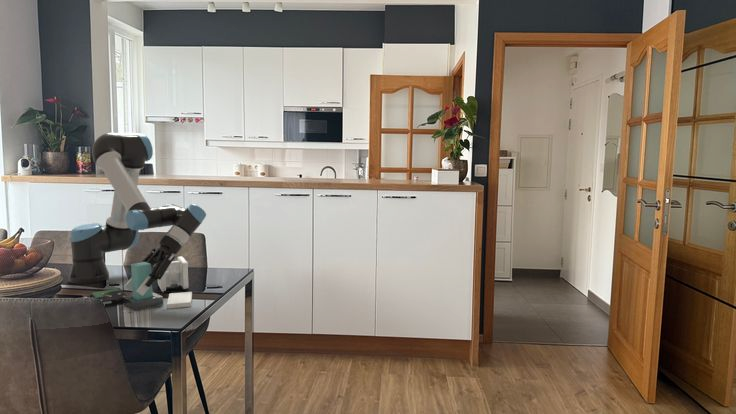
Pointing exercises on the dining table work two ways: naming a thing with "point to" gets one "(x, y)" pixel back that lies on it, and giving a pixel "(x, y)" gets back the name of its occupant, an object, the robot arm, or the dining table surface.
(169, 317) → the dining table surface
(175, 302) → the off-white pad
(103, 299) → the disk drive
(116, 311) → the dining table surface
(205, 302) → the dining table surface
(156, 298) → the socket block
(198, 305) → the dining table surface
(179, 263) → the cable organizer
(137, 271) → the teal peg
